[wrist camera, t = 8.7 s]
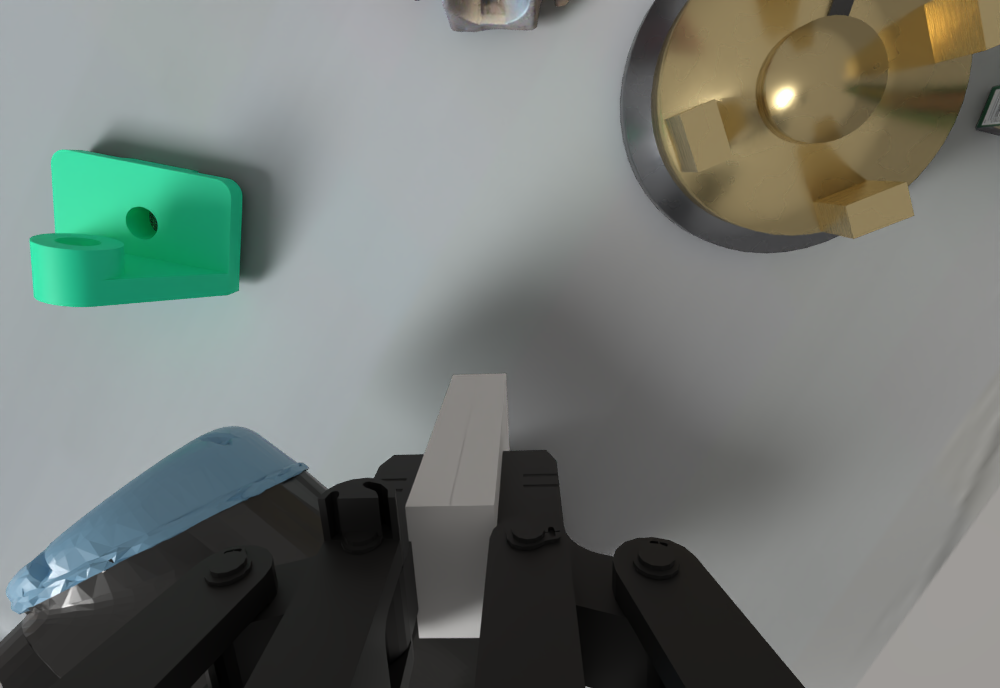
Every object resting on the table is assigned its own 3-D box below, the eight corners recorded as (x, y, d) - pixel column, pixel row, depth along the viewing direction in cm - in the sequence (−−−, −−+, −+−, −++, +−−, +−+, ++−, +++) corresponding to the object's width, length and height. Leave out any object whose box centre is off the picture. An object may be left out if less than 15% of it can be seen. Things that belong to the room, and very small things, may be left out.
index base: (942, 205, 36) (1003, 210, 32) (651, 279, 39) (667, 295, 34) (924, -132, 31) (994, -185, 26) (590, -20, 34) (599, -51, 29)
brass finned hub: (900, -125, 30) (997, -203, 23) (957, 166, 34) (1052, 166, 27) (612, 15, 32) (631, -22, 26) (697, 269, 36) (731, 289, 30)
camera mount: (251, 181, 39) (155, 185, 29) (246, 287, 41) (156, 324, 31) (81, 148, 39) (-72, 141, 29) (85, 256, 41) (-54, 283, 31)
